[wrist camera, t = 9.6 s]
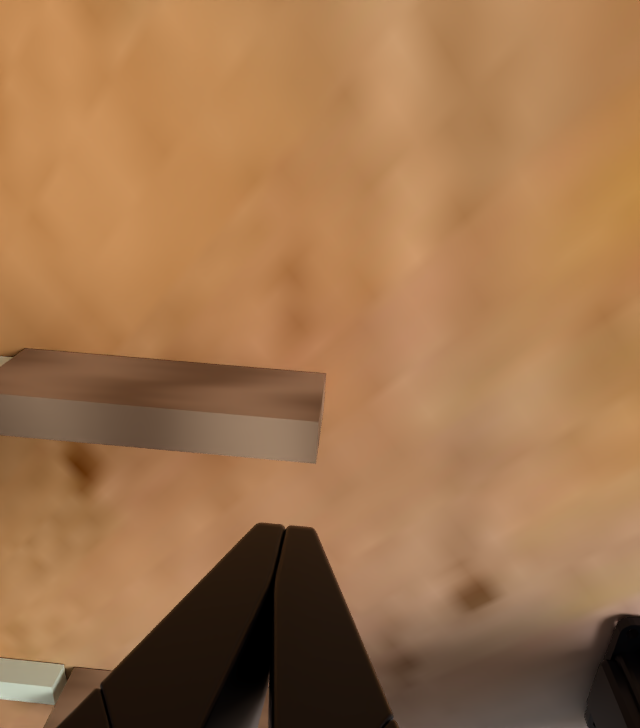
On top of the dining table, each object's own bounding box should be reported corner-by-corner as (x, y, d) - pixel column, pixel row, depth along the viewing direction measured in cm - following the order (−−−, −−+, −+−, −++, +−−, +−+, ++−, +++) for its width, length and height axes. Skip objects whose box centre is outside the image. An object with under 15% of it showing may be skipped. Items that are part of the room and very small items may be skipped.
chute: (325, 373, 21) (318, 422, 18) (302, 713, 29) (294, 789, 26) (25, 348, 22) (-34, 391, 19) (77, 688, 29) (41, 761, 26)
